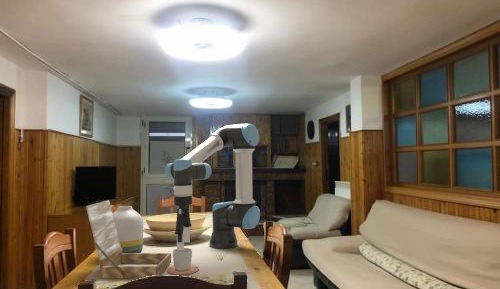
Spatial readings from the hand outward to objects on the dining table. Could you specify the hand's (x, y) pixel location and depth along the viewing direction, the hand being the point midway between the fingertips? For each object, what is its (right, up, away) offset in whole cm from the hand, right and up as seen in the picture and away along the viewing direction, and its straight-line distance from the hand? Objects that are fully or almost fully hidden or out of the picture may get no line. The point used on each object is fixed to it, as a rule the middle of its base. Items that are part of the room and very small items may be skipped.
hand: (183, 246), depth 160 cm
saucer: (0, -10, -1) cm, 10 cm away
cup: (0, -9, -1) cm, 9 cm away
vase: (-32, -11, +22) cm, 41 cm away
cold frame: (-22, -10, -1) cm, 24 cm away
